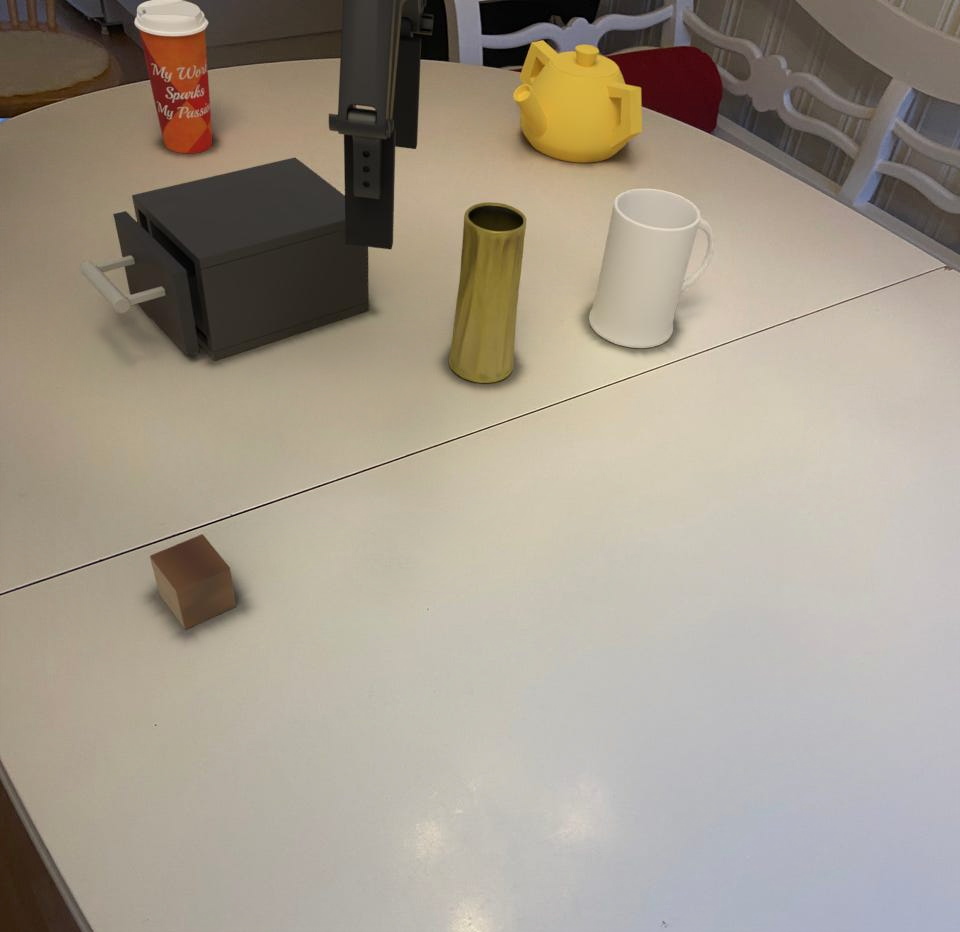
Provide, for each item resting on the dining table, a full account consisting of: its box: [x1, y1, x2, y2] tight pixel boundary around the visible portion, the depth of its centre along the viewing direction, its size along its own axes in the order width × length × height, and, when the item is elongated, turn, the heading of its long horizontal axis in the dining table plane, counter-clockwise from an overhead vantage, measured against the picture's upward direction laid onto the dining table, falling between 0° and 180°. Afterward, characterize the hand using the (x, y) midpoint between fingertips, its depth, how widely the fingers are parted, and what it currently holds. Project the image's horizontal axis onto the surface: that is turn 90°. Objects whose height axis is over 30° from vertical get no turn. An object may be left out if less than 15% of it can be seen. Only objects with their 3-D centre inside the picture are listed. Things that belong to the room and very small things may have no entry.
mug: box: [588, 187, 716, 349], centre depth 93 cm, size 12×8×12 cm
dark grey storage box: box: [131, 157, 370, 362], centre depth 90 cm, size 17×13×10 cm
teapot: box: [513, 39, 643, 164], centre depth 119 cm, size 20×18×11 cm
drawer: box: [79, 210, 207, 357], centre depth 88 cm, size 20×12×8 cm, turn 128°
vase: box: [448, 201, 527, 384], centre depth 85 cm, size 6×6×14 cm
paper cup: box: [134, 0, 213, 154], centre depth 109 cm, size 8×8×14 cm
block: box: [149, 533, 237, 630], centre depth 67 cm, size 4×4×4 cm
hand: (384, 191), depth 61 cm, fingers open, 13 cm apart
